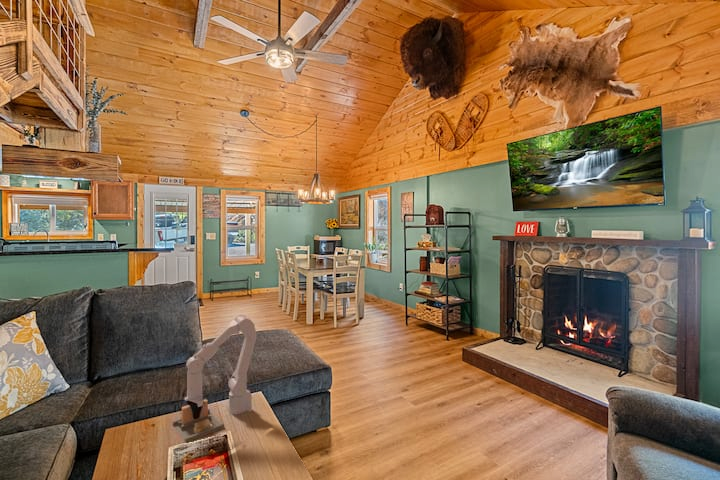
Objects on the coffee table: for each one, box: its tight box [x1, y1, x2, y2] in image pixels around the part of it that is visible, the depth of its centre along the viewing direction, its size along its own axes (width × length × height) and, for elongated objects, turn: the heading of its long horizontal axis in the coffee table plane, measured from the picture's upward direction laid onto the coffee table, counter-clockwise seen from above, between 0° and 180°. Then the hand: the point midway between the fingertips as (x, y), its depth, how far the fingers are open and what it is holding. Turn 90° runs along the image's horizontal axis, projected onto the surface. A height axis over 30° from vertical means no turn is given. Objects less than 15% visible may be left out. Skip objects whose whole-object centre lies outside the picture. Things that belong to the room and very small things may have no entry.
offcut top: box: [195, 419, 210, 431], centre depth 139 cm, size 5×4×2 cm
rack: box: [172, 408, 225, 444], centre depth 142 cm, size 15×17×2 cm
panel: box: [181, 398, 209, 425], centre depth 145 cm, size 10×2×8 cm, turn 134°
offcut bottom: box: [194, 423, 213, 433], centre depth 139 cm, size 6×4×2 cm, turn 142°
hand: (194, 416), depth 145 cm, fingers open, 3 cm apart
